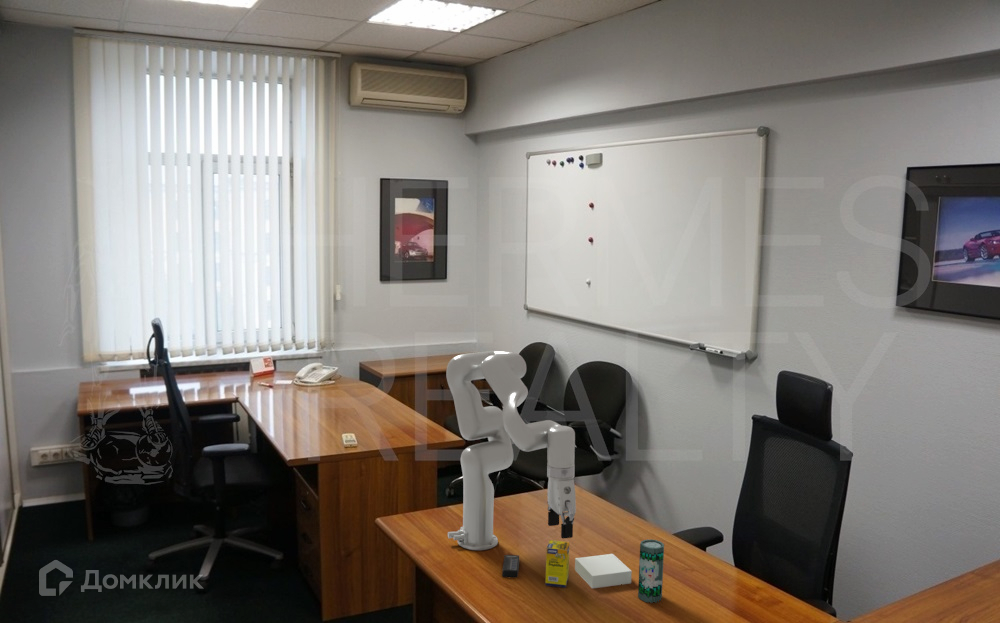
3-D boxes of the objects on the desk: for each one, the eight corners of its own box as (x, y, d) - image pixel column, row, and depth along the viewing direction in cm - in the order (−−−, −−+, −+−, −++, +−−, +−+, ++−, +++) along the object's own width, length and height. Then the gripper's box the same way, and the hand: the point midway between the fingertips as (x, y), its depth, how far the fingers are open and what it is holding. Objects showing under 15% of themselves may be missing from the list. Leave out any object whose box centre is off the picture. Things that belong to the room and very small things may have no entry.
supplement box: (566, 588, 212) (567, 550, 211) (544, 585, 213) (546, 547, 212) (568, 578, 218) (570, 541, 216) (547, 576, 219) (548, 539, 218)
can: (636, 600, 206) (638, 546, 204) (640, 590, 211) (642, 538, 210) (659, 604, 204) (661, 550, 202) (662, 594, 209) (665, 541, 208)
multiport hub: (502, 578, 218) (502, 570, 218) (504, 561, 229) (504, 554, 228) (517, 579, 218) (517, 571, 217) (519, 562, 228) (519, 555, 228)
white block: (592, 589, 212) (592, 576, 212) (574, 571, 223) (575, 558, 223) (631, 584, 216) (631, 570, 215) (612, 566, 227) (612, 553, 227)
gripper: (586, 479, 205) (585, 541, 206) (561, 461, 221) (560, 519, 223) (560, 481, 202) (559, 544, 204) (537, 463, 219) (536, 522, 220)
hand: (560, 531), depth 213 cm, fingers open, 9 cm apart
